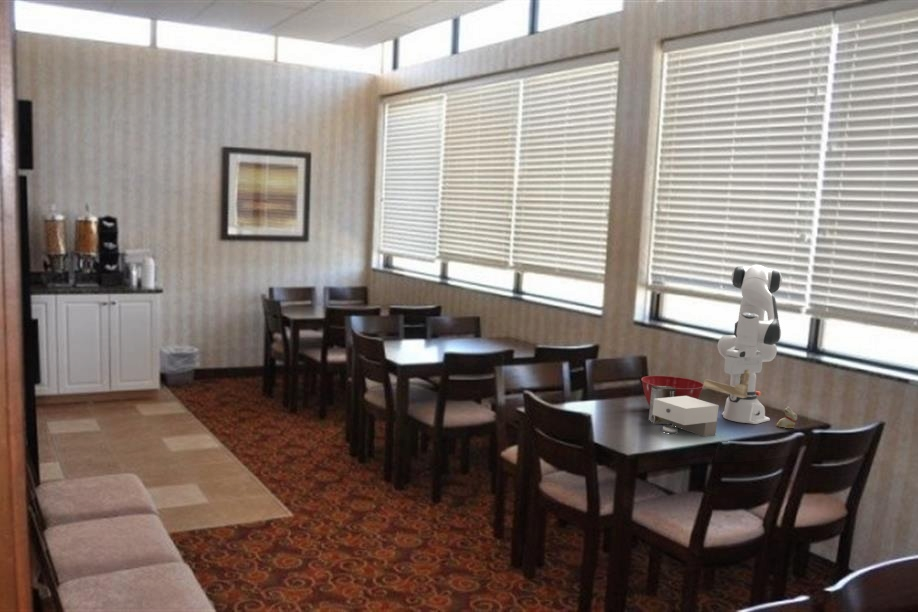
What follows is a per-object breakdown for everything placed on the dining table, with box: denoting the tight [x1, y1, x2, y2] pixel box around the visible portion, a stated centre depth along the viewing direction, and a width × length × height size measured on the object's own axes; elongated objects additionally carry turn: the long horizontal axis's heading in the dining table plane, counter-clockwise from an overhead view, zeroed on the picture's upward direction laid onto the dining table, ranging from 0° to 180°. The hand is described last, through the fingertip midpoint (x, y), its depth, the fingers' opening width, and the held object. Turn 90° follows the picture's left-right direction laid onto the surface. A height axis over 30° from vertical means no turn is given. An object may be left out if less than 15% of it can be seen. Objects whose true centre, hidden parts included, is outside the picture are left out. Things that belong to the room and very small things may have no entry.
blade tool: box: [703, 370, 750, 398], centre depth 352 cm, size 3×22×12 cm, turn 32°
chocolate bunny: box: [775, 406, 798, 429], centre depth 370 cm, size 6×8×10 cm
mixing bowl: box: [640, 375, 704, 407], centre depth 382 cm, size 28×28×15 cm
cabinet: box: [652, 396, 720, 437], centre depth 350 cm, size 21×18×13 cm
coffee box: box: [648, 386, 676, 425], centre depth 363 cm, size 9×6×16 cm
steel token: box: [662, 424, 678, 435], centre depth 348 cm, size 6×6×2 cm
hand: (741, 383), depth 345 cm, fingers closed on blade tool, 3 cm apart
